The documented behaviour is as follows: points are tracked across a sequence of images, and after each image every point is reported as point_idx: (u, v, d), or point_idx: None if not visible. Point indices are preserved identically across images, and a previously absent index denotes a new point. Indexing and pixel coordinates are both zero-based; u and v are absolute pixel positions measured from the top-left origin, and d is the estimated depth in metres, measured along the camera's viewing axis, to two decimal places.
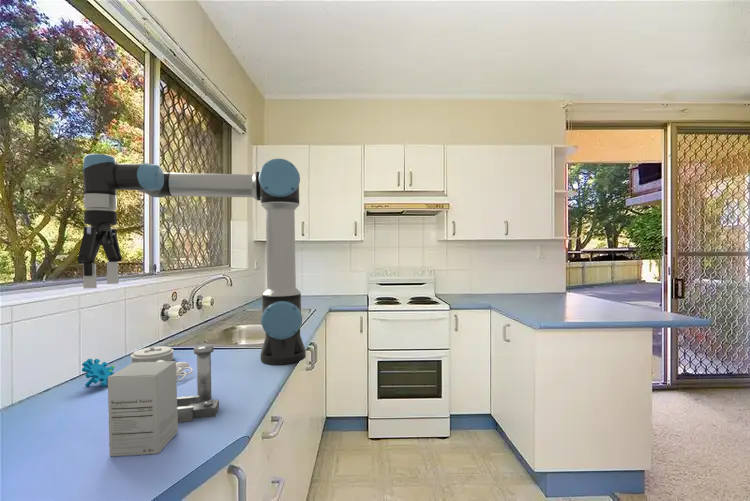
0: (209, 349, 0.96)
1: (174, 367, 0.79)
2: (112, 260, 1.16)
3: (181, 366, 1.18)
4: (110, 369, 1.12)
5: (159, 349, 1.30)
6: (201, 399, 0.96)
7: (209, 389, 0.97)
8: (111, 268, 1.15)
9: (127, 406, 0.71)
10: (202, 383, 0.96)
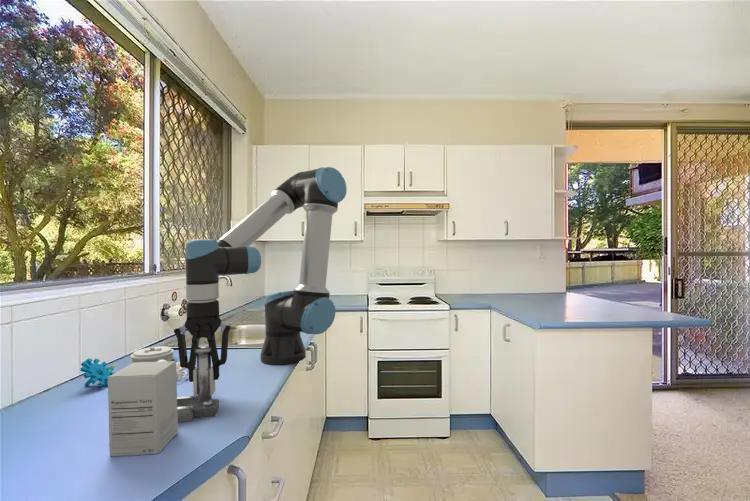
0: (209, 349, 0.96)
1: (174, 367, 0.79)
2: None
3: None
4: (109, 369, 1.13)
5: (159, 349, 1.30)
6: (201, 399, 0.96)
7: (209, 389, 0.97)
8: None
9: (127, 406, 0.71)
10: (203, 383, 0.96)
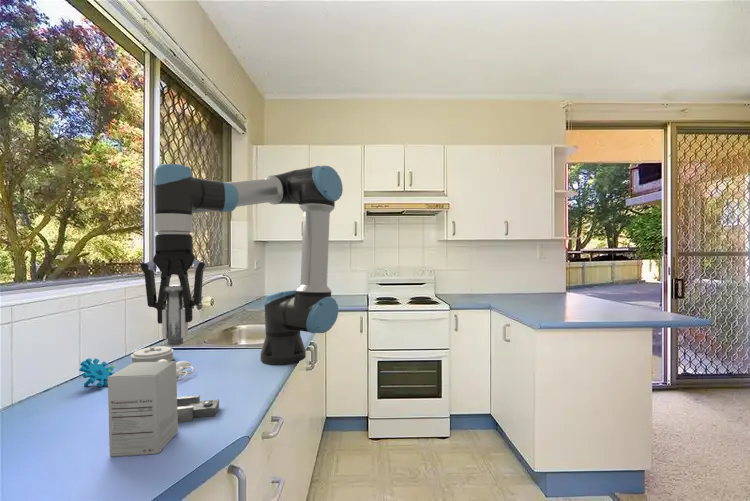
0: (180, 287, 0.87)
1: (174, 367, 0.79)
2: None
3: (183, 365, 1.19)
4: (109, 369, 1.13)
5: (159, 349, 1.30)
6: (171, 342, 0.86)
7: (180, 332, 0.87)
8: None
9: (127, 406, 0.71)
10: (173, 325, 0.86)
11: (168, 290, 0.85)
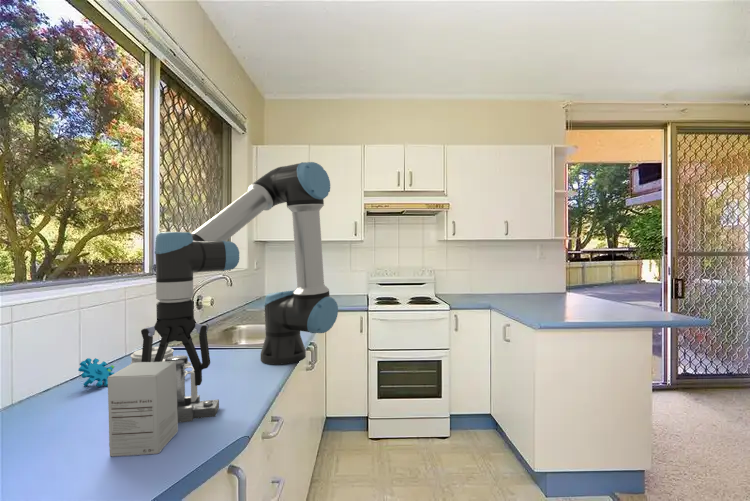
0: (182, 361, 0.87)
1: (174, 367, 0.79)
2: None
3: None
4: (109, 369, 1.13)
5: None
6: None
7: (182, 405, 0.87)
8: None
9: (127, 406, 0.71)
10: None
11: None
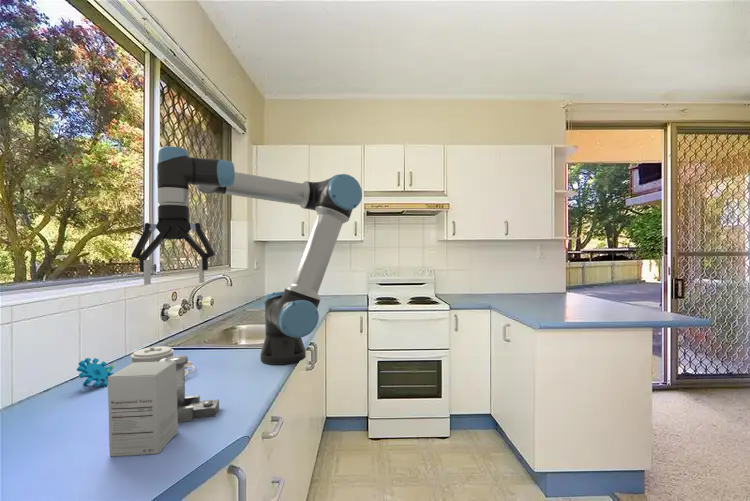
0: (182, 361, 0.87)
1: (174, 367, 0.79)
2: None
3: (184, 364, 1.20)
4: (108, 369, 1.13)
5: (159, 349, 1.30)
6: None
7: (182, 405, 0.87)
8: None
9: (127, 406, 0.71)
10: None
11: None
